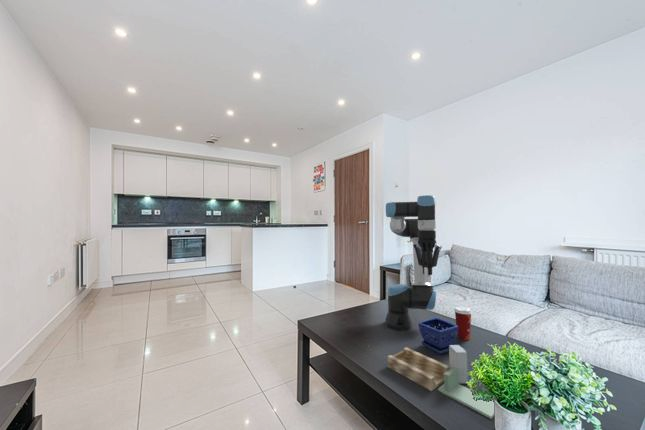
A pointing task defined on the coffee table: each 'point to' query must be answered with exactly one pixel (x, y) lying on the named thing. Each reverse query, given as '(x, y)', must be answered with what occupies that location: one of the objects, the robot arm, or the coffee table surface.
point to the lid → (464, 394)
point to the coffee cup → (463, 322)
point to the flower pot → (438, 334)
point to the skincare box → (458, 362)
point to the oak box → (418, 368)
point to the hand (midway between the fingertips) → (427, 281)
